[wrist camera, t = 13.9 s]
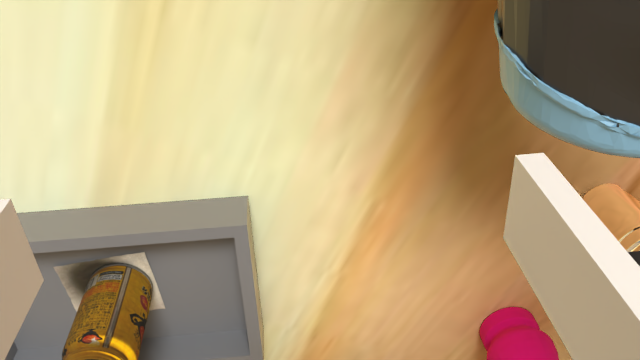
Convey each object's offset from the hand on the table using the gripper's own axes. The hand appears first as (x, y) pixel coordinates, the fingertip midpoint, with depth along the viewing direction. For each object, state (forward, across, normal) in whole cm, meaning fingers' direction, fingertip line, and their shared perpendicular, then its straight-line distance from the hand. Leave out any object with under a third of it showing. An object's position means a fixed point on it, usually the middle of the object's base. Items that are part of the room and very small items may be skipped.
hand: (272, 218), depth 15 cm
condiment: (+30, -18, -28) cm, 45 cm away
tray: (+31, -17, -28) cm, 45 cm away
